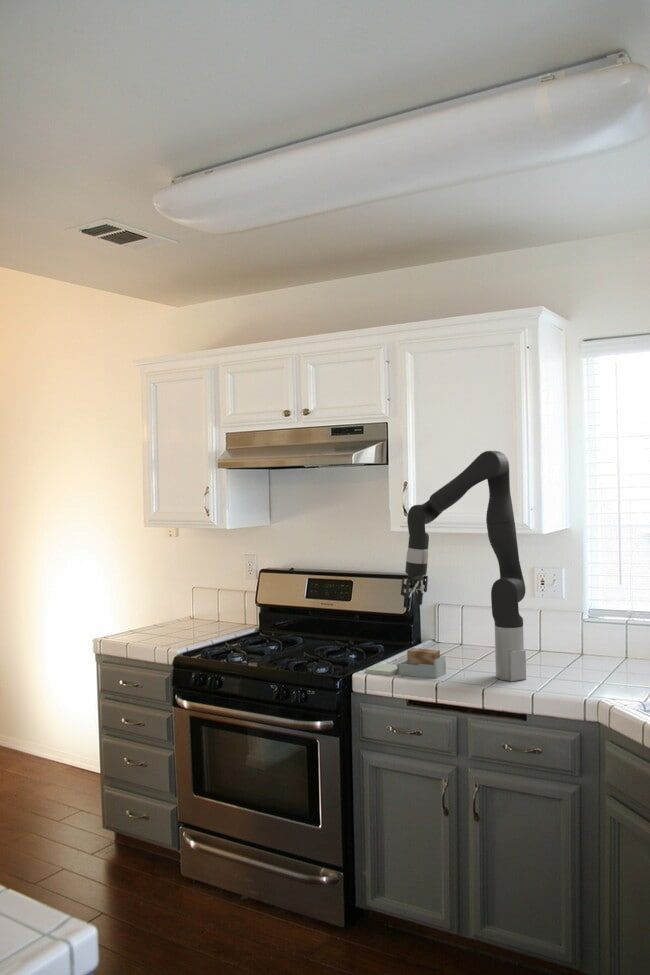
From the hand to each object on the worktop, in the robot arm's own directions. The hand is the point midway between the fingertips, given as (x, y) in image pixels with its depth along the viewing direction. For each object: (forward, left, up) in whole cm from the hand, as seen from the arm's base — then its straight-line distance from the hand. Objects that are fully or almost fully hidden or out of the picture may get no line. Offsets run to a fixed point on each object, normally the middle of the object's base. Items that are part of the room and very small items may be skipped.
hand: (412, 606), depth 297 cm
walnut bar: (-12, +3, -17) cm, 21 cm away
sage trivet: (-1, +13, -21) cm, 25 cm away
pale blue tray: (-12, +4, -21) cm, 25 cm away
